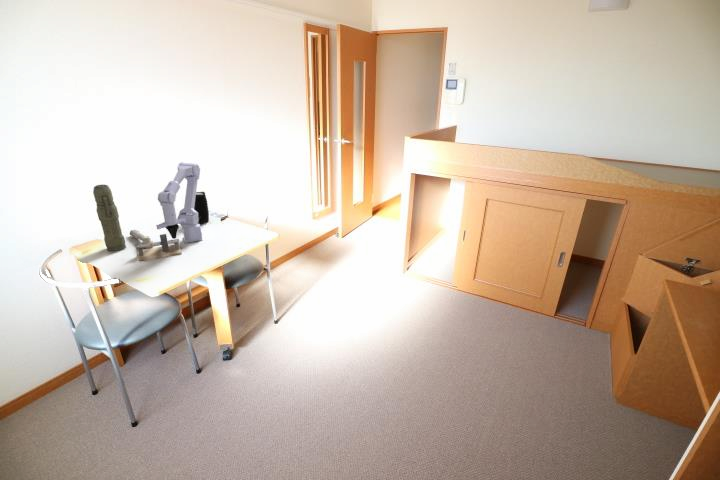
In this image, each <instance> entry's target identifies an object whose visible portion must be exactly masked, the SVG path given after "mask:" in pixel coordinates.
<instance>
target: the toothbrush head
mask: <svg viewBox="0 0 720 480" xmlns="http://www.w3.org/2000/svg"><path fill="white" fill-rule="evenodd" d="M129 235H130V236H131V237H132V238H134V239H137V240H139V241H140V242H141V241H142V242H141V244H148V243H154V242H153V240H151V237H150V236H145V235H144V234H143V233H141V232H140V231H139V230H136V229H132V230H131V229H130V232H129ZM141 244H140V245H141ZM151 248H152V247H147V248H146V249H151Z"/></svg>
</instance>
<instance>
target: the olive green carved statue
mask: <svg viewBox="0 0 720 480" xmlns="http://www.w3.org/2000/svg"><path fill="white" fill-rule="evenodd" d="M93 197H94V200H95V203H96V214H97V217H98V220H99V221H100V224H101V228H102V232H103V235H104V239H103V241H104V244H105V247H106V250H107V252H109V253H111V252H112V253H115V252H116V253H117V252H121V251H124V250H126V248H127V246H126V239H125V237H124V235H123V232H122V229H121V228H122V227H121V225H120V220H119V218H120V217H119V211H118V207H117V206H116V204H115V201H114V197H113V193H112V190H111V188H110V187H109V185H108V184H98V185H94V186H93Z"/></svg>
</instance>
